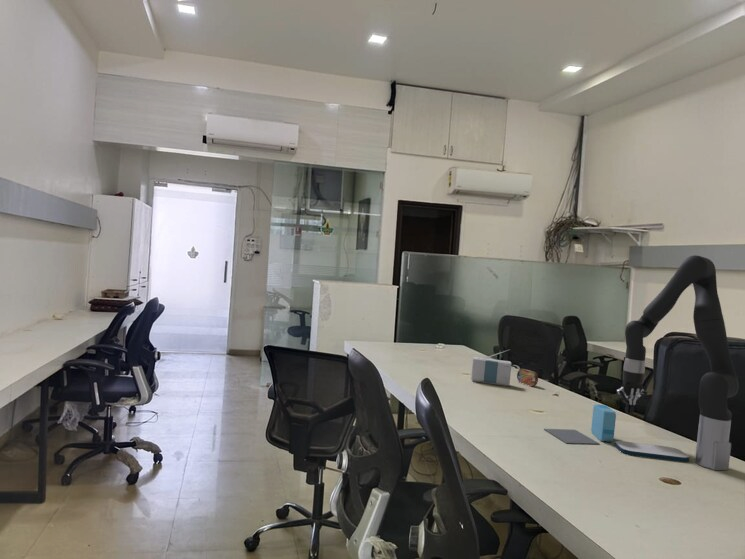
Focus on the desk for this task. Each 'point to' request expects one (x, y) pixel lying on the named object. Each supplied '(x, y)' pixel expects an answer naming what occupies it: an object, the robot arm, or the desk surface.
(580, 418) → the desk surface
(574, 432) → the mat
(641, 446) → the white blue flat slab
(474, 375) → the stereo radio cassette player
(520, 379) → the tin
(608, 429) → the data package
